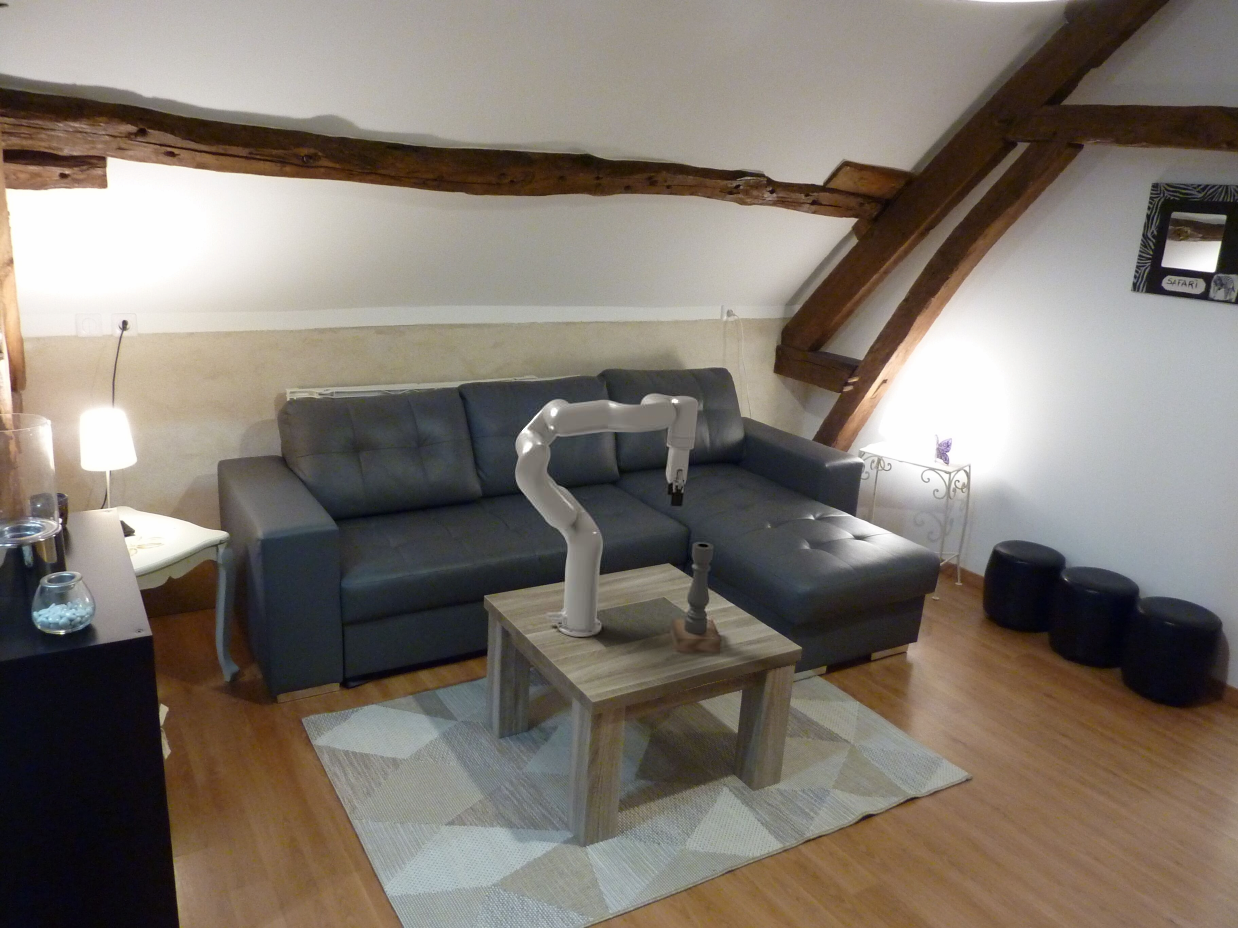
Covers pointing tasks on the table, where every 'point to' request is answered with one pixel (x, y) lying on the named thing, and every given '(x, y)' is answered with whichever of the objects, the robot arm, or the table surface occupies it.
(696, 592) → the candle holder
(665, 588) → the table surface
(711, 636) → the walnut plinth
